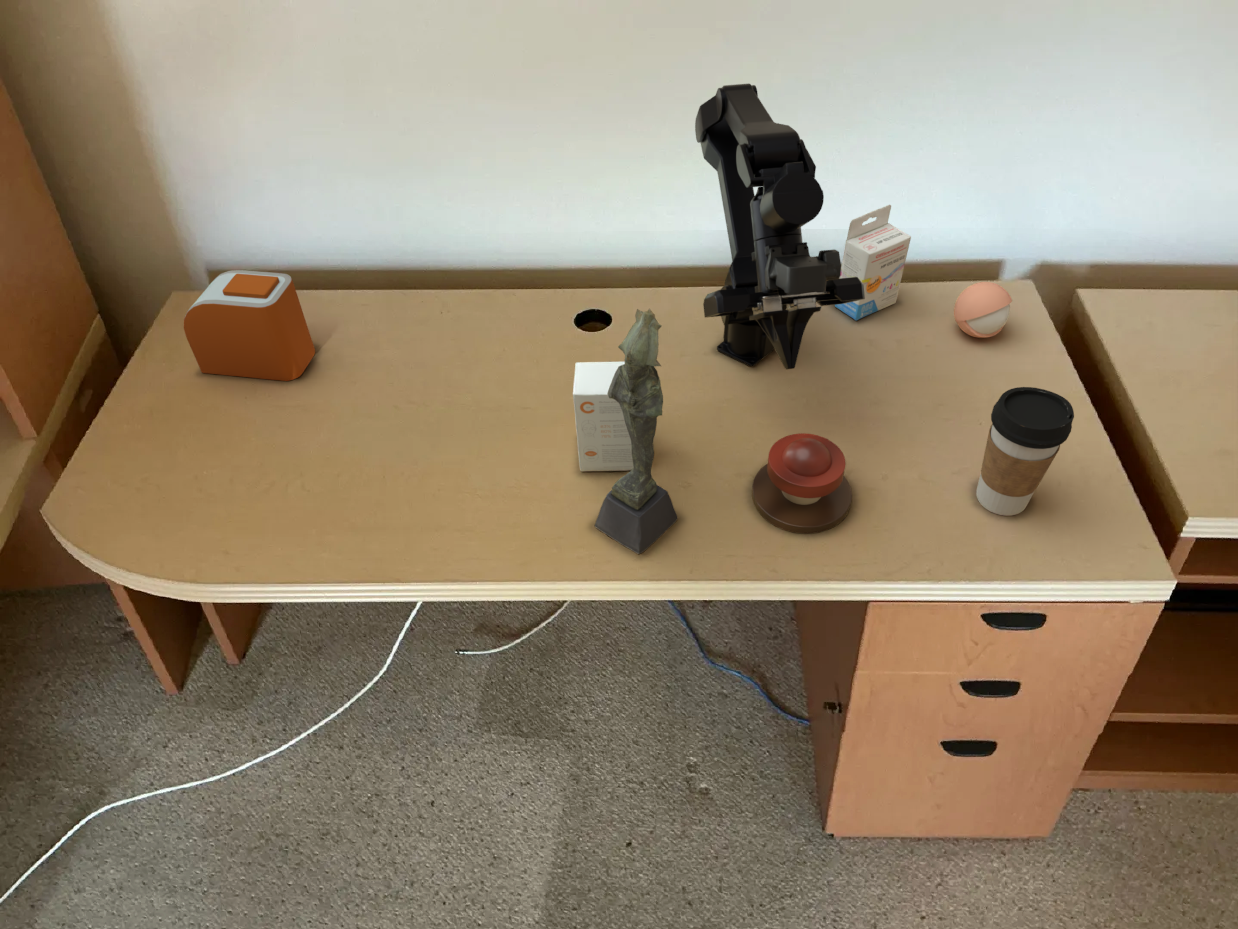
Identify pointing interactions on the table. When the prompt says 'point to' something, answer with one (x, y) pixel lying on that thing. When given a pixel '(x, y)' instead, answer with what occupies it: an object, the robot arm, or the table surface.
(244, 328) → the alarm clock
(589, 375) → the small box
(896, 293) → the ink box
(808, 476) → the toy mushroom
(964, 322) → the toy ball
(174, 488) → the table surface
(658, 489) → the statue
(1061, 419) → the coffee cup
